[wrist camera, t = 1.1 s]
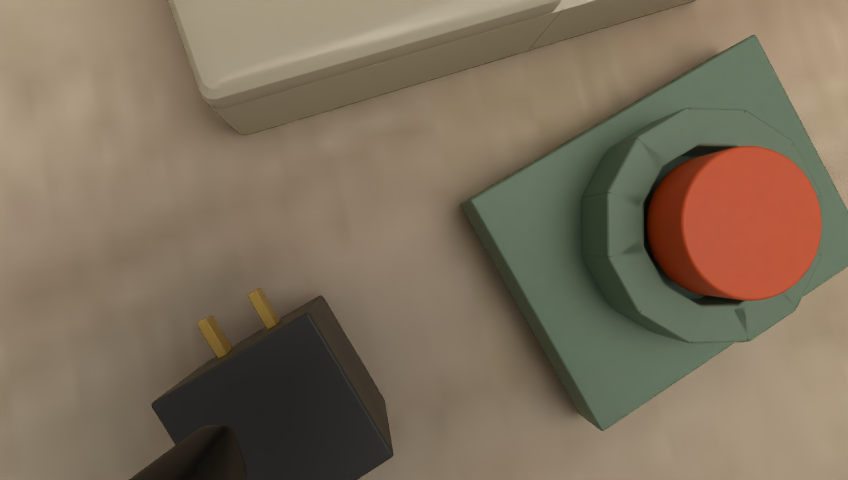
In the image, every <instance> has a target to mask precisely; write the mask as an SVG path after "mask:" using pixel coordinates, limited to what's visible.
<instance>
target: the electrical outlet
mask: <svg viewBox="0 0 848 480" xmlns="http://www.w3.org/2000/svg"><path fill="white" fill-rule="evenodd" d="M692 1H695V0H168V3H169V6H170V9H171V12H172V15H173V18H174V20H175V23H176V26H177V29H178V32H179V35H180V38H181V40H182V43H183V46H184V49H185V52H186V55H187V58H188V61H189V63H190V66H191V69H192V72H193V75H194V78H195V81H196V83H197V86H198V89H199V92H200V95H201V97H202V99H203V100H204V101H205V102H206V103H207V104H208V105H209V106H210V107H211V108H212V109H213V110H214V111H215V112H216V113H217V114H219V115H220V116H221V117H222V118H223V119H224V120H225V121H226V122H227V123H228V124H229V125H230V126H231V127H233V128H234V129H235V130H236V131H237V132H238V133H239V134H242V135H248V134H252V133H255V132H258V131H262V130H265V129H268V128H272V127H275V126H278V125H282V124H285V123H288V122H292V121H295V120H298V119H302V118H305V117H308V116H312V115H315V114H318V113H322V112H325V111H328V110H332V109H335V108H338V107H342V106H345V105H348V104H352V103H355V102H358V101H362V100H365V99H368V98H372V97H375V96H378V95H382V94H385V93H388V92H392V91H395V90H398V89H402V88H405V87H408V86H412V85H415V84H418V83H422V82H425V81H428V80H432V79H435V78H438V77H442V76H445V75H448V74H452V73H455V72H458V71H462V70H465V69H468V68H472V67H475V66H478V65H482V64H485V63H488V62H492V61H495V60H498V59H502V58H505V57H508V56H512V55H515V54H518V53H522V52H525V51H528V50H532V49H535V48H538V47H542V46H545V45H548V44H552V43H555V42H558V41H562V40H565V39H568V38H572V37H575V36H578V35H582V34H585V33H588V32H592V31H595V30H598V29H602V28H605V27H608V26H612V25H615V24H618V23H622V22H625V21H628V20H632V19H635V18H638V17H642V16H645V15H648V14H652V13H655V12H658V11H662V10H665V9H668V8H672V7H675V6H678V5H682V4H685V3H688V2H692Z"/></svg>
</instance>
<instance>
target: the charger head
mask: <svg viewBox="0 0 848 480" xmlns="http://www.w3.org/2000/svg"><path fill="white" fill-rule="evenodd" d="M247 296H248V298H249V299H250V301H251V303H252V304H253V306H254V308H255V309H256V311H257V313H258V314H259V316H260V318H261V319H262V321H263V323H264V324H265V326H266V327H265V328H264V329H262V330H260V331H259V332H257V333H255V334H253V335H252V336H250V337H248V338H247V339H245V340H243V341H241V342H240V343H238V344H236V345H235V346H233V347H231V345H230V343H229V342H228V340H227V338H226V337H225V335H224V333H223V332H222V330H221V329H220V327H219V325H218V324H217V322H216V320H215V319H214V317H213V316H210V317H208V318H205V319H204V320H202V321H200V322H198V323H197V325H198V327H199V329H200V330H201V332H202V334H203V335H204V337H205V339H206V340H207V342H208V343H209V345H210V347H211V348H212V350H213V352H214V353H215V355H216V357H214V358H212V359H211V360H209V361H207V362H206V363H205V364H203V365H202V366H201V367H199V368H198V369H197V370H195V371H194V372H193V373H191V374H190V375H189V376H187V377H186V378H185V379H183V380H182V381H181V382H179V383H178V384H177V385H175V386H174V387H173V388H171V389H170V390H169V391H167V392H166V393H165V394H163V395H162V396H161V397H159V398H158V399H157V400H155V401H154V402H153V403H152V408H153V409H154V411H155V413H156V414H157V416H158V417H159V419H160V421H161V422H162V424H163V425H164V427H165V429H166V430H167V432H168V434H169V435H170V437H171V438H172V440H173V442H174V443H175V445H177V444H179V443H180V442H181V441H183V440H184V439H185V438H187V437H188V436H190V435H191V434H192V433H194V432H195V431H196V430H198V429H199V428H201V427H204V426H210V425H221V424H227V425H230V426H231V427H232V428H233V430H234V432H235V434H236V437H237V441H238V444H239V447H240V450H241V453H242V456H243V459H244V462H245V466H246V480H357V479H359V478H360V477H362V476H363V475H365V474H367V473H368V472H370V471H371V470H373V469H374V468H376V467H377V466H379V465H381V464H382V463H384V462H385V461H387V460H388V459H390V458H391V457H392V456H393V449H392V443H391V436H390V430H389V424H388V418H387V411H386V405H385V400H384V398H383V397H382V395H381V393H380V392H379V390H378V388H377V387H376V385H375V383H374V382H373V380H372V378H371V377H370V375H369V373H368V372H367V370H366V368H365V366H364V365H363V363H362V361H361V360H360V358H359V356H358V355H357V353H356V351H355V350H354V348H353V346H352V345H351V343H350V341H349V340H348V338H347V336H346V334H345V333H344V331H343V329H342V328H341V326H340V324H339V323H338V321H337V319H336V318H335V316H334V314H333V313H332V311H331V309H330V308H329V306H328V304H327V303H326V301H325V299H324V297H323V296H318V297H317V298H315V299H313V300H312V301H310V302H308V303H306V304H305V305H303V306H301V307H300V308H298V309H296V310H294V311H293V312H291V313H289V314H288V315H286V316H284V317H283V318H281V319H279V318H278V316H277V315H276V313H275V311H274V310H273V308H272V306H271V305H270V303H269V301H268V300H267V298H266V296H265V295H264V293H263V291H262V290H261V288H259V289H256V290H254V291H252V292H251V293H249V294H248V295H247Z"/></svg>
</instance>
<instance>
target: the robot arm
mask: <svg viewBox="0 0 848 480" xmlns="http://www.w3.org/2000/svg"><path fill="white" fill-rule="evenodd" d="M129 480H246V466H245V462H244V459H243V456H242V453H241V450H240V447H239V444H238V441H237V437H236V434H235V432H234V430H233V428H232V427H231V426H230V425H227V424H221V425H210V426H204V427H201V428H199V429H198V430H196V431H195V432H194V433H192V434H191V435H190V436H188V437H187V438H185V439H184V440H183V441H181V442H180V443H179V444H177V445H176V446H174V447H173V448H172V449H170V450H169V451H168V452H166V453H165V454H164V455H162V456H161V457H159V458H158V459H157V460H155V461H154V462H153V463H151V464H150V465H148V466H147V467H146V468H144V469H143V470H142V471H140V472H139V473H137V474H136V475H135V476H133V477H132V478H131V479H129Z"/></svg>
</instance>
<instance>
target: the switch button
mask: <svg viewBox="0 0 848 480" xmlns="http://www.w3.org/2000/svg"><path fill="white" fill-rule="evenodd" d="M821 227H822V221H821V211H820V206H819V202H818V199H817V196H816V193H815V191H814V188H813V186H812V184H811V183H810V181H809V179H808V178H807V176H806V175H805V174H804V173H803V171H802V170H801V169H800V168H799V167H798V166H797V165H796V164H795V163H794V162H793V161H791V160H790V159H789V158H787V157H786V156H784V155H782V154H780V153H778V152H776V151H773V150H771V149H768V148H763V147H759V146H739V147H734V148H730V149H726V150H722V151H719V152H715V153H711V154H707V155H704V156H700V157H696V158H693V159H690V160H687V161H685V162H683V163H681V164H679V165H678V166H677V167H675V168H674V169H672V170H671V171H670V172H669V173H668V174H667V175H666V176H665V177H664V178H663V180H662V181H661V182H660V183H659V185H658V187H657V188H656V190H655V192H654V194H653V196H652V199H651V202H650V205H649V209H648V214H647V235H648V240H649V245H650V248H651V251H652V253H653V255H654V258H655V260H656V261H657V263H658V265H659V266H660V268H661V269H662V270H663V271H664V273H665V274H666V275H667V276H668V277H669V278H670V279H671V280H672V281H674V282H675V283H676V284H678V285H679V286H681V287H683V288H684V289H686V290H688V291H691V292H694V293H697V294H702V295H708V296H716V297H723V298H730V299H737V300H747V301H756V300H764V299H768V298H771V297H774V296H776V295H779V294H781V293H783V292H785V291H786V290H788V289H790V288H791V287H792V286H793V285H795V284H796V283H797V282H798V281H799V280H800V279H801V278H802V277H803V276H804V274H805V273H806V272H807V270H808V269H809V267H810V266H811V264H812V262H813V260H814V258H815V256H816V253H817V250H818V247H819V243H820V237H821Z"/></svg>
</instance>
